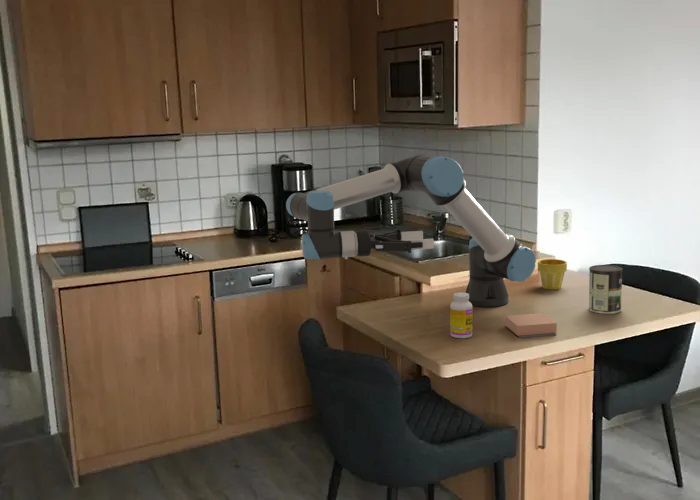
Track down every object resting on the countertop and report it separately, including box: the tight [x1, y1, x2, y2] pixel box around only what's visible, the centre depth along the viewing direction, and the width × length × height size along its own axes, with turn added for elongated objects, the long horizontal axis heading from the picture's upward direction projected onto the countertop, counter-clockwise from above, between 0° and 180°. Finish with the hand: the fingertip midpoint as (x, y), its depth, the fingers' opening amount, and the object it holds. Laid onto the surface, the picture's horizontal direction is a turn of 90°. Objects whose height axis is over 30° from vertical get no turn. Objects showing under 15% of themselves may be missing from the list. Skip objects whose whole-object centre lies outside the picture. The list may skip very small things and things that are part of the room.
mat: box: [518, 332, 557, 339], centre depth 230 cm, size 11×13×1 cm
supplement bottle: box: [449, 291, 474, 339], centre depth 226 cm, size 7×7×13 cm
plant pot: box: [537, 258, 568, 291], centre depth 279 cm, size 10×10×10 cm
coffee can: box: [588, 264, 624, 315], centre depth 247 cm, size 10×10×14 cm
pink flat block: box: [504, 312, 558, 337], centre depth 230 cm, size 3×11×12 cm
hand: (428, 239), depth 221 cm, fingers open, 13 cm apart
